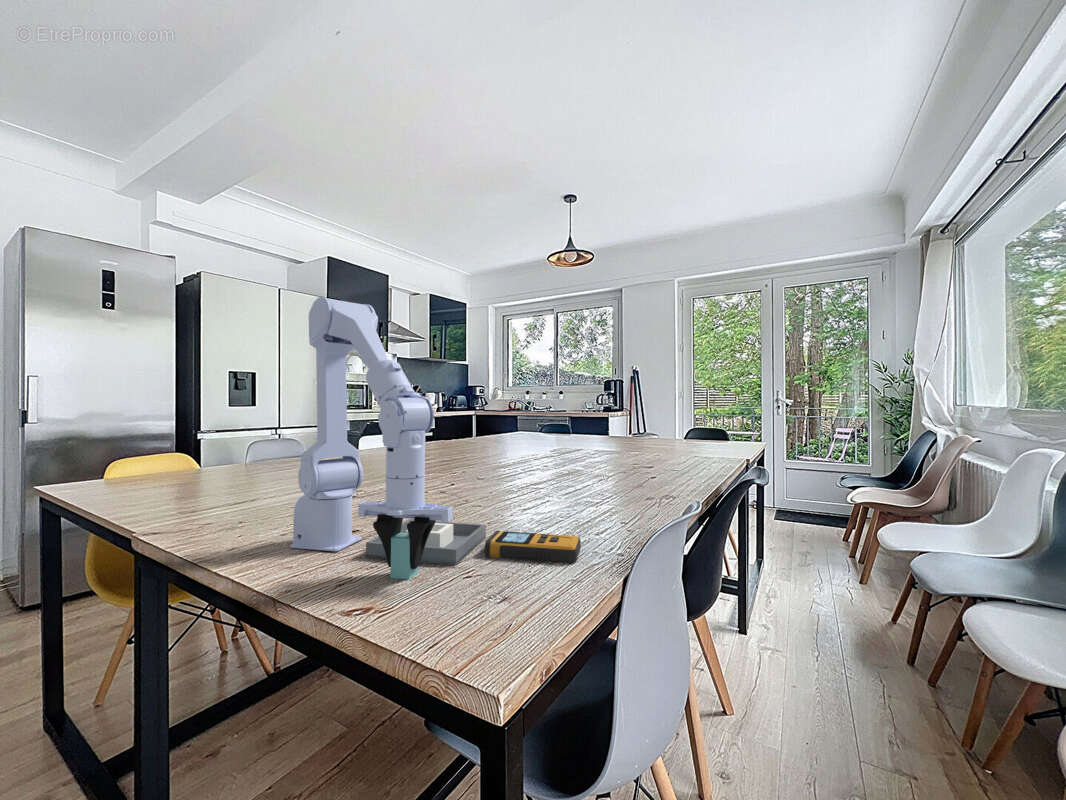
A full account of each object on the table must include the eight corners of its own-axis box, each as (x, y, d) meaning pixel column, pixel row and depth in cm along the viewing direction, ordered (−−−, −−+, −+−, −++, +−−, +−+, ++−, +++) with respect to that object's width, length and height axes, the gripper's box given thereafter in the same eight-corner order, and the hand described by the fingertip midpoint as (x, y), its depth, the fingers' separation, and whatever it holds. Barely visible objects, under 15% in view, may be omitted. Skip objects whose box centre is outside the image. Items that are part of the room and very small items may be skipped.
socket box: (365, 557, 82) (366, 536, 82) (408, 532, 97) (409, 514, 97) (456, 565, 78) (456, 543, 78) (485, 537, 94) (485, 519, 94)
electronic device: (575, 568, 79) (576, 548, 79) (483, 560, 82) (484, 540, 82) (581, 552, 88) (581, 533, 88) (497, 545, 91) (497, 527, 91)
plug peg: (390, 577, 73) (391, 537, 73) (399, 571, 76) (400, 532, 76) (409, 579, 72) (409, 539, 72) (418, 572, 75) (418, 533, 75)
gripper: (347, 478, 71) (346, 570, 71) (440, 482, 68) (439, 579, 68) (372, 471, 78) (371, 555, 78) (458, 475, 75) (457, 562, 75)
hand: (404, 565), depth 74 cm, fingers closed on plug peg, 3 cm apart
